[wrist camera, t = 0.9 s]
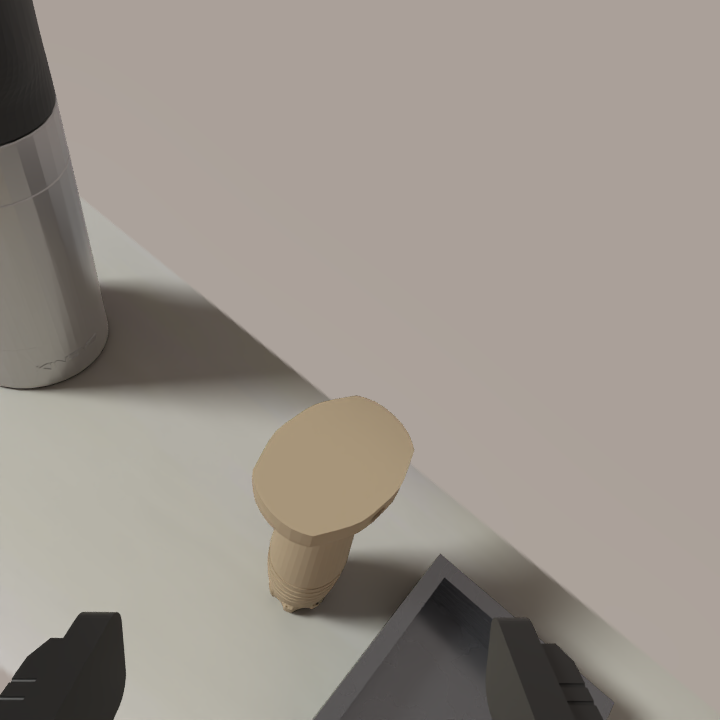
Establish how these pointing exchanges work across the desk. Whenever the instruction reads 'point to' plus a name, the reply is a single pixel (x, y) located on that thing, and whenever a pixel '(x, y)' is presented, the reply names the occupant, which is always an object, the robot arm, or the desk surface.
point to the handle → (326, 491)
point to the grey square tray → (429, 657)
